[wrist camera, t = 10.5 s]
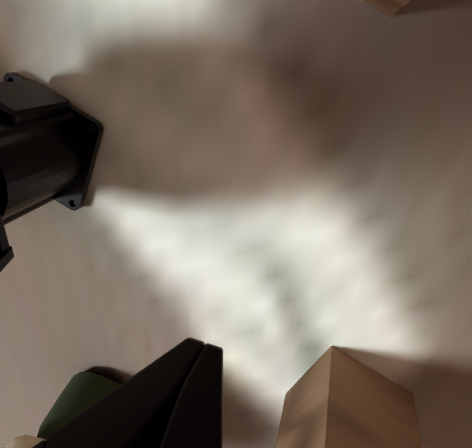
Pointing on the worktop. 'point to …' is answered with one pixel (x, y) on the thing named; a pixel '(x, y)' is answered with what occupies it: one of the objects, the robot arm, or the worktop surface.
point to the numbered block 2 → (386, 5)
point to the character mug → (69, 405)
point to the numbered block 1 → (347, 408)
